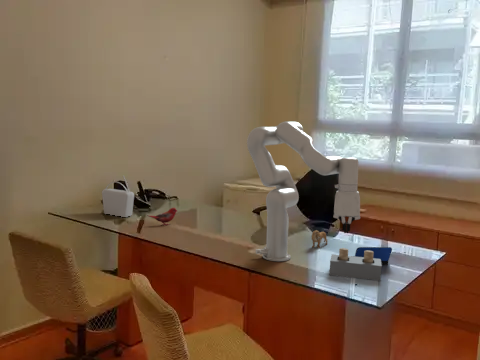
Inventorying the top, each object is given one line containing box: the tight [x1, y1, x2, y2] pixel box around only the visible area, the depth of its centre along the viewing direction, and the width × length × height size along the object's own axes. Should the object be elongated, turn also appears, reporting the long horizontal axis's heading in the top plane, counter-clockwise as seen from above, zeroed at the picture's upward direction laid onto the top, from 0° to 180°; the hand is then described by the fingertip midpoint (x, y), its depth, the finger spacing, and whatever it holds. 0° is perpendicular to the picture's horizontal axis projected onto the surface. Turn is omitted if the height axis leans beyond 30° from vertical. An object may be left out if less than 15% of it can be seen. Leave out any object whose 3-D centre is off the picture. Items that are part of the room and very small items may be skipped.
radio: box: [101, 175, 135, 218], centre depth 299 cm, size 22×8×25 cm, turn 58°
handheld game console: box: [354, 246, 393, 266], centre depth 216 cm, size 16×13×9 cm
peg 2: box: [364, 250, 374, 263], centre depth 198 cm, size 4×4×6 cm
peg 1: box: [338, 247, 349, 261], centre depth 201 cm, size 4×4×6 cm
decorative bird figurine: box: [146, 207, 178, 226], centre depth 276 cm, size 3×18×10 cm, turn 112°
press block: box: [329, 254, 383, 281], centre depth 200 cm, size 20×10×6 cm, turn 76°
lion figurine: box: [311, 229, 328, 249], centre depth 242 cm, size 15×5×9 cm, turn 151°
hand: (346, 232), depth 199 cm, fingers closed
